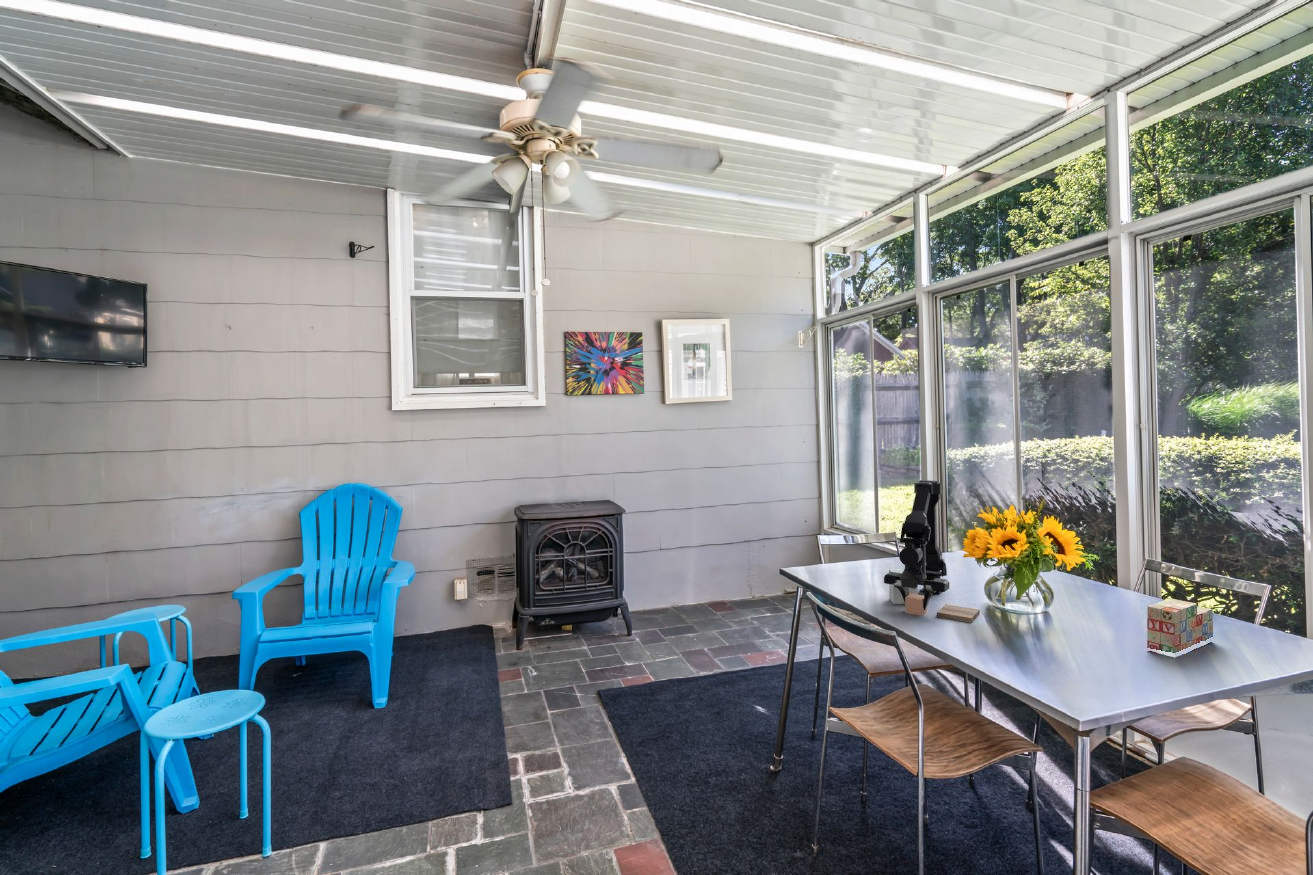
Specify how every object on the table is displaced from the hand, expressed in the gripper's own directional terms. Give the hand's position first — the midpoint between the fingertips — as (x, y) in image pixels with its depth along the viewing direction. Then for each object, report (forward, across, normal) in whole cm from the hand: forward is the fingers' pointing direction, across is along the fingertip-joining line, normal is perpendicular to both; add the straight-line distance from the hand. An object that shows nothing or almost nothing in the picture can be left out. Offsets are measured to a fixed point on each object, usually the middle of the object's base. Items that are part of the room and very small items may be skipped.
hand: (916, 608), depth 206 cm
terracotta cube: (+1, 0, 0) cm, 1 cm away
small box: (+2, -7, +9) cm, 12 cm away
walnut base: (+2, +12, +4) cm, 12 cm away
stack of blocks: (+2, +65, +10) cm, 66 cm away
